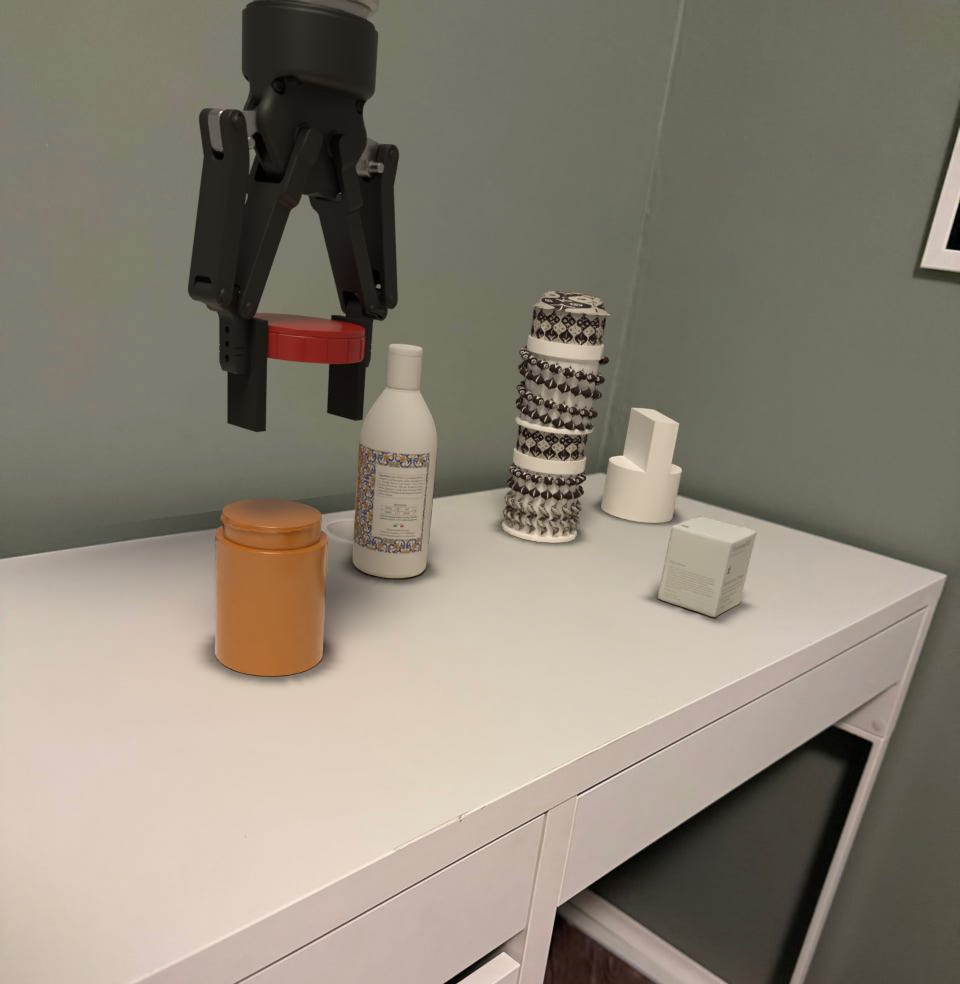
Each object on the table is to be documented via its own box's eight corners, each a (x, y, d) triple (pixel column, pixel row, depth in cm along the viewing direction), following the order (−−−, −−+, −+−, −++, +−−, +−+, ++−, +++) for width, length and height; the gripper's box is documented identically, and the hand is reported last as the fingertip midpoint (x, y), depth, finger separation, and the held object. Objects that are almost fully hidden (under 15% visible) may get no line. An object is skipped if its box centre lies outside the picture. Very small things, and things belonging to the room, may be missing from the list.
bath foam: (370, 550, 90) (384, 337, 82) (436, 564, 89) (457, 349, 81) (339, 570, 84) (351, 342, 76) (409, 585, 83) (429, 355, 75)
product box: (714, 619, 83) (732, 542, 80) (654, 599, 87) (669, 524, 84) (740, 604, 88) (758, 530, 85) (683, 585, 91) (698, 514, 88)
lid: (379, 367, 57) (381, 335, 56) (247, 359, 54) (248, 325, 53) (344, 347, 64) (345, 318, 63) (225, 339, 60) (225, 309, 60)
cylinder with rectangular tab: (591, 499, 118) (607, 405, 114) (657, 503, 120) (675, 411, 115) (613, 520, 110) (631, 419, 106) (683, 524, 112) (704, 426, 107)
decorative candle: (517, 513, 109) (547, 287, 99) (591, 530, 105) (629, 299, 95) (484, 530, 101) (512, 287, 91) (562, 549, 97) (601, 299, 88)
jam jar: (192, 650, 66) (190, 506, 62) (273, 623, 72) (276, 491, 67) (265, 687, 62) (268, 536, 58) (344, 655, 68) (352, 517, 64)
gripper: (201, -51, 42) (205, 450, 51) (476, 52, 57) (441, 420, 66) (103, -42, 45) (123, 423, 54) (386, 53, 61) (365, 400, 70)
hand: (298, 421), depth 60 cm, fingers closed on lid, 8 cm apart
